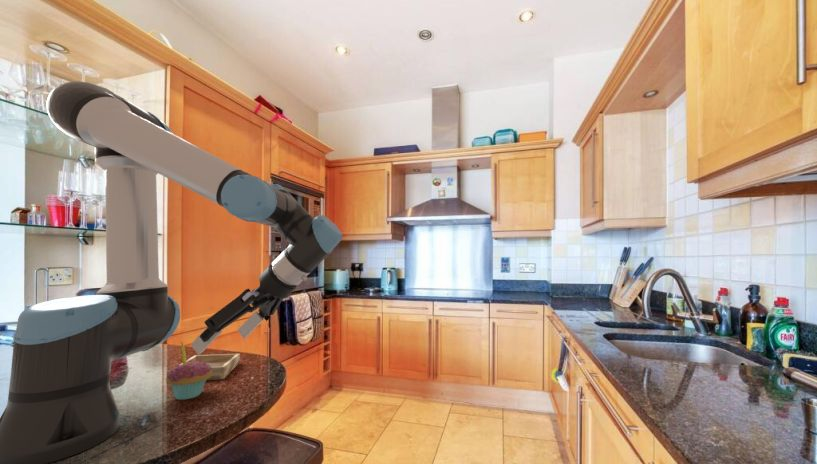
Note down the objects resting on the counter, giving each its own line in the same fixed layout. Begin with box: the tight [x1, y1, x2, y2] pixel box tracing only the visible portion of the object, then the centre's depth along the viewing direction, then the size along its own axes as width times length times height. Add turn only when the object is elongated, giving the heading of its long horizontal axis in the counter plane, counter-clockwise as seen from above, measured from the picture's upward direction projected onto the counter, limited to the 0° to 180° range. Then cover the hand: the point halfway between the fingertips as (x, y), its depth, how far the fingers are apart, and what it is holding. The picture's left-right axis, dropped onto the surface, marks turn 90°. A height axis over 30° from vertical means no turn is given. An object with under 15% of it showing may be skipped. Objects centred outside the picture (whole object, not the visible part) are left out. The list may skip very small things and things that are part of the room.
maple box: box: [179, 353, 241, 381], centre depth 86 cm, size 12×12×3 cm
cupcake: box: [165, 342, 212, 400], centre depth 72 cm, size 9×8×12 cm
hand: (220, 341), depth 72 cm, fingers open, 13 cm apart
